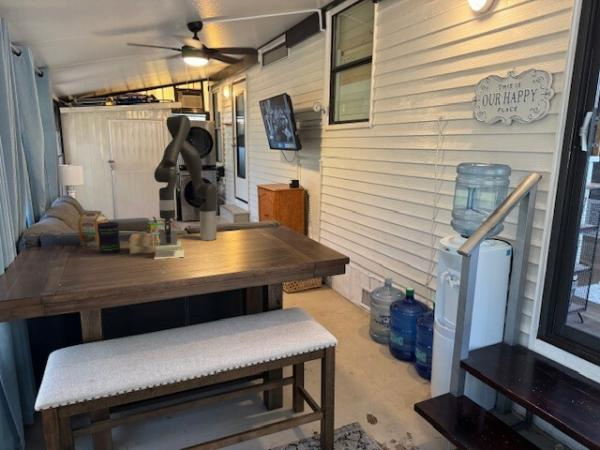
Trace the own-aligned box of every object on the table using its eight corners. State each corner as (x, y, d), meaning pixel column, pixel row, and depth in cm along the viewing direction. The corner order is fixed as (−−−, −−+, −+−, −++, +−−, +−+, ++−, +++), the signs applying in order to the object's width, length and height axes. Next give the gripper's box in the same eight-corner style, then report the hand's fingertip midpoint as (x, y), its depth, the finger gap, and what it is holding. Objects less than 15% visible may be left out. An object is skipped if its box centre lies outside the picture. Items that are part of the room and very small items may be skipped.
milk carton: (109, 242, 229) (106, 209, 225) (98, 246, 218) (95, 212, 215) (91, 241, 230) (89, 208, 226) (80, 246, 219) (77, 211, 216)
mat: (184, 250, 212) (184, 250, 212) (184, 257, 199) (183, 256, 199) (156, 252, 209) (156, 251, 209) (154, 259, 195) (154, 258, 195)
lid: (181, 244, 210) (180, 228, 209) (181, 250, 199) (180, 232, 197) (157, 245, 207) (156, 228, 206) (155, 251, 196) (154, 233, 194)
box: (154, 247, 218) (153, 233, 216) (152, 252, 207) (152, 237, 206) (132, 248, 215) (131, 234, 213) (130, 254, 204) (129, 238, 203)
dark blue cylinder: (112, 255, 202) (110, 226, 200) (95, 253, 204) (92, 225, 201) (124, 250, 212) (122, 222, 209) (108, 249, 214) (105, 221, 211)
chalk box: (167, 242, 231) (166, 217, 228) (150, 244, 226) (149, 218, 223) (163, 239, 238) (162, 214, 235) (147, 240, 233) (145, 215, 231)
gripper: (174, 210, 194) (176, 245, 197) (175, 206, 207) (176, 238, 210) (158, 210, 192) (160, 245, 195) (160, 206, 205) (161, 239, 208)
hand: (168, 242), depth 203 cm, fingers closed on lid, 3 cm apart
